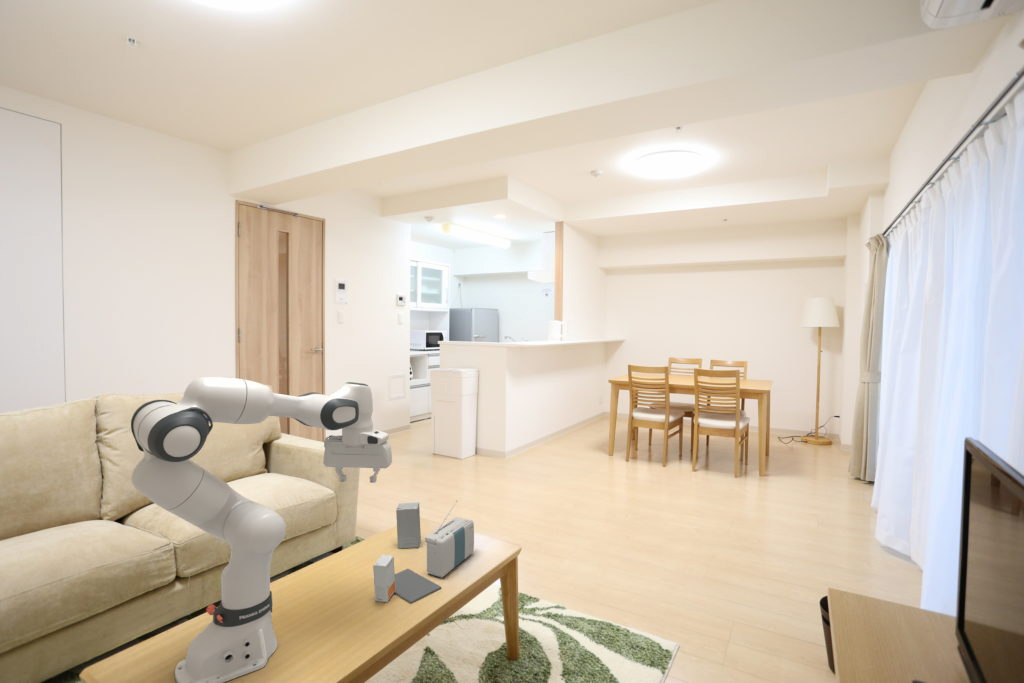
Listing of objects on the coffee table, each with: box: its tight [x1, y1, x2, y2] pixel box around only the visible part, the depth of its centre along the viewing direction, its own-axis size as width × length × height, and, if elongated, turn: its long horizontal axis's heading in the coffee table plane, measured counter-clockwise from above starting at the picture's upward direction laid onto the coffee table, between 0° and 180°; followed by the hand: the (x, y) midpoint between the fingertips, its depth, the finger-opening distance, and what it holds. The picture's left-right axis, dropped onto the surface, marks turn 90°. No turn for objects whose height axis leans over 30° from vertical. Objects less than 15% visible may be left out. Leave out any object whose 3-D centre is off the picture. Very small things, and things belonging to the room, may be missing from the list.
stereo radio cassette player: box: [424, 500, 475, 579], centre depth 175 cm, size 21×8×20 cm, turn 154°
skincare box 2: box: [395, 502, 422, 550], centre depth 191 cm, size 8×7×16 cm
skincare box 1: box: [372, 554, 396, 603], centre depth 153 cm, size 6×4×12 cm
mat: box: [393, 568, 442, 605], centre depth 161 cm, size 12×18×1 cm, turn 48°
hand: (357, 481), depth 148 cm, fingers open, 8 cm apart
